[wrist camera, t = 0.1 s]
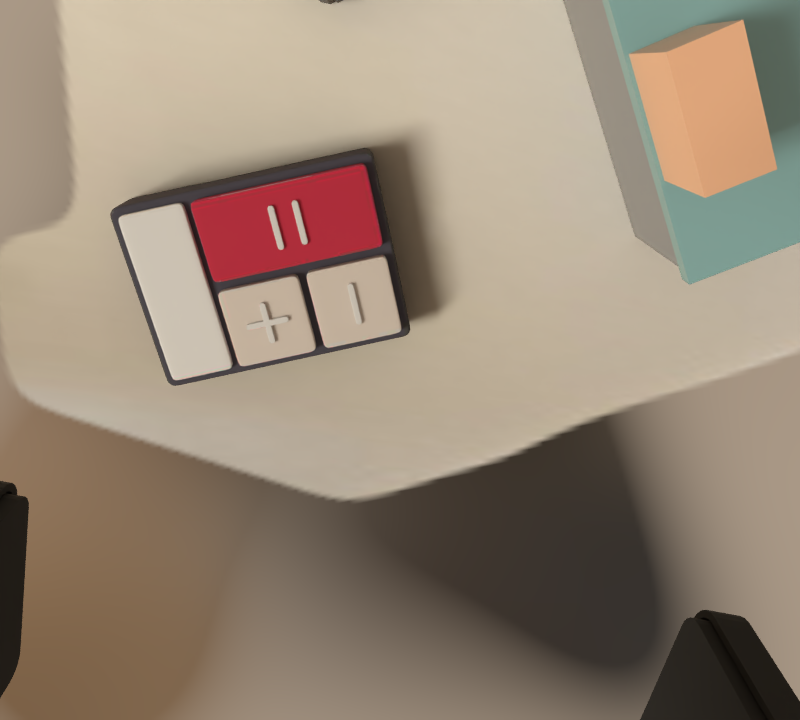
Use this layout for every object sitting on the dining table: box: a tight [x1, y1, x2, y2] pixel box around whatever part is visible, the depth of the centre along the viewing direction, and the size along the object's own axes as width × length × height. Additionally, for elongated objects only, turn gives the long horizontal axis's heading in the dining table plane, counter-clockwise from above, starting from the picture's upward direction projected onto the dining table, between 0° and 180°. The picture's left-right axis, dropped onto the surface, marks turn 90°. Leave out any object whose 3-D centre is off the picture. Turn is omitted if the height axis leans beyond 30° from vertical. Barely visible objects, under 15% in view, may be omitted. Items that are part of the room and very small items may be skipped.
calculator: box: [111, 148, 410, 386], centre depth 45 cm, size 11×4×15 cm
